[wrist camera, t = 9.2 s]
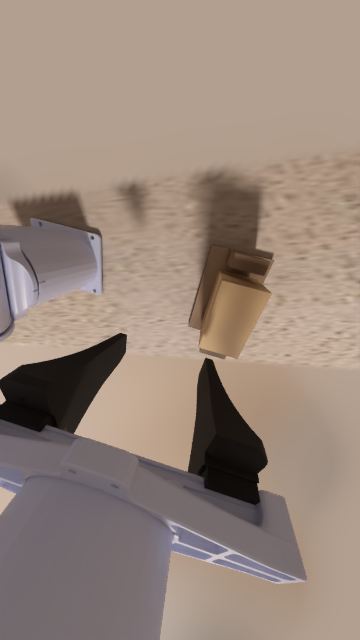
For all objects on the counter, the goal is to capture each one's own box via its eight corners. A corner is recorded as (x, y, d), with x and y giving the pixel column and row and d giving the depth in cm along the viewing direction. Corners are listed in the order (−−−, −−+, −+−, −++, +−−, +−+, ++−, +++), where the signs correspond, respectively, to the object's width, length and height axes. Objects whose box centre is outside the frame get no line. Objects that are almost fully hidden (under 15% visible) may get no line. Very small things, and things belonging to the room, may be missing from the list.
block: (201, 324, 20) (198, 347, 16) (219, 269, 17) (221, 280, 13) (231, 332, 20) (237, 358, 16) (256, 279, 17) (271, 293, 12)
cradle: (188, 324, 23) (182, 347, 19) (211, 244, 18) (211, 247, 13) (235, 337, 23) (241, 364, 18) (272, 259, 18) (295, 268, 13)
